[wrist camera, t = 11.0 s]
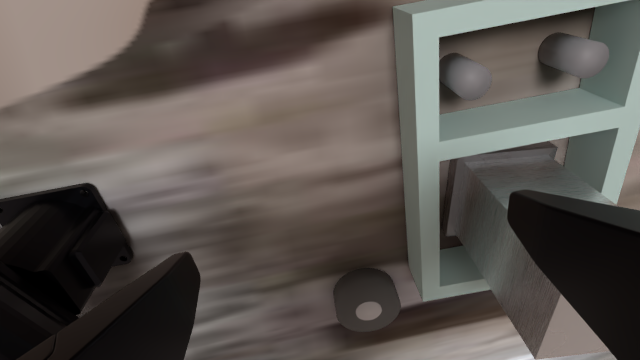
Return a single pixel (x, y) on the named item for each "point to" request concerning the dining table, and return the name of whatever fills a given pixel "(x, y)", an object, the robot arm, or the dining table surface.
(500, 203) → the gray rectangular block
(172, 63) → the dining table surface
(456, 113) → the frame
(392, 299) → the loose wheel
